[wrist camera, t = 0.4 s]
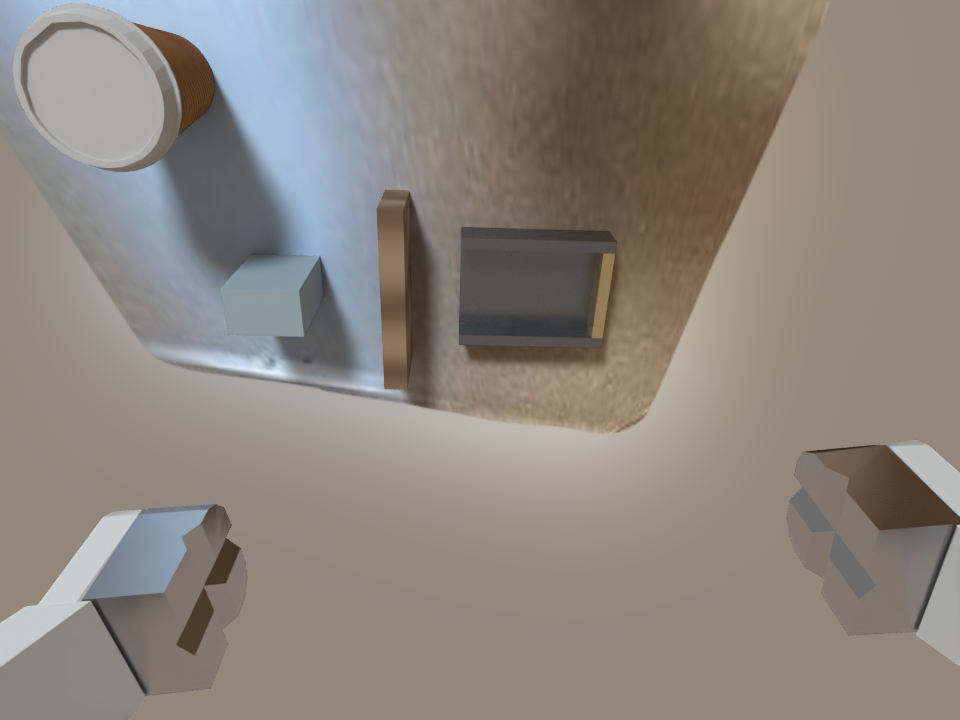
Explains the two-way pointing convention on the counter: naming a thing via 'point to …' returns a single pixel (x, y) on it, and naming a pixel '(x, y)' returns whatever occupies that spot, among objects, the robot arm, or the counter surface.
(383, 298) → the brown wooden board
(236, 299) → the block
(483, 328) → the keeper
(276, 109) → the counter surface
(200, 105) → the disposable coffee cup
